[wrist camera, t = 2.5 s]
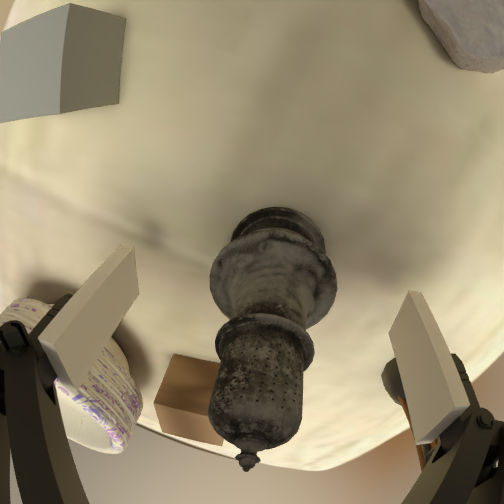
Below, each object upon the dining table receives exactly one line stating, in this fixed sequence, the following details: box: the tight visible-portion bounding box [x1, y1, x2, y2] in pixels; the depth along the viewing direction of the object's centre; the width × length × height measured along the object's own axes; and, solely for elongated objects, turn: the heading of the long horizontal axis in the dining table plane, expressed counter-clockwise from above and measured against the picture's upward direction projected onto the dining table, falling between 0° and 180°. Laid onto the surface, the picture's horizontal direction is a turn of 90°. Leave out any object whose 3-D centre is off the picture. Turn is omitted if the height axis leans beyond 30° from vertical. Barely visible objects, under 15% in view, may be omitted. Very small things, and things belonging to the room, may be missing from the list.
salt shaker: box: [208, 207, 337, 472], centre depth 12 cm, size 6×6×12 cm
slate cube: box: [0, 3, 126, 123], centre depth 10 cm, size 5×5×5 cm
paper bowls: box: [0, 298, 143, 454], centre depth 21 cm, size 15×15×8 cm
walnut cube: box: [154, 354, 224, 446], centre depth 21 cm, size 5×5×5 cm
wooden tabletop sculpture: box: [382, 358, 440, 471], centre depth 12 cm, size 6×5×20 cm
